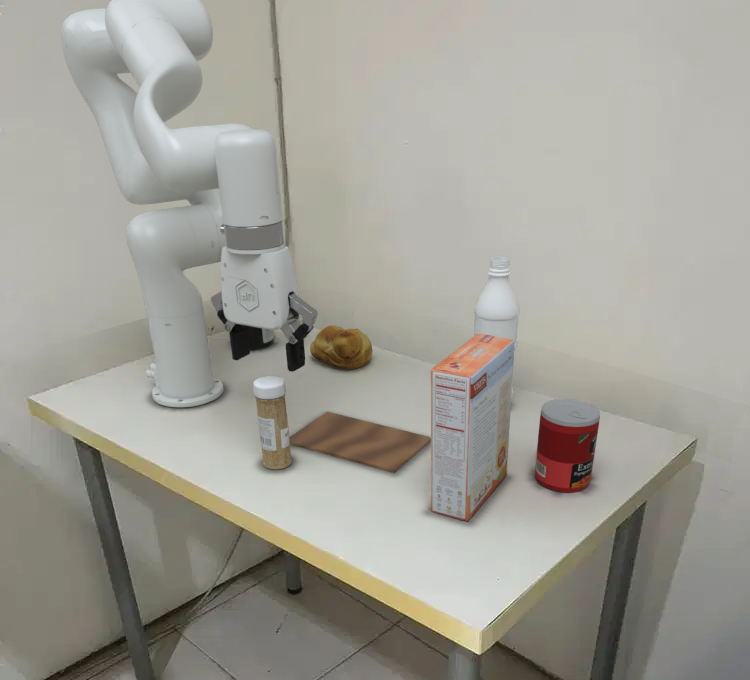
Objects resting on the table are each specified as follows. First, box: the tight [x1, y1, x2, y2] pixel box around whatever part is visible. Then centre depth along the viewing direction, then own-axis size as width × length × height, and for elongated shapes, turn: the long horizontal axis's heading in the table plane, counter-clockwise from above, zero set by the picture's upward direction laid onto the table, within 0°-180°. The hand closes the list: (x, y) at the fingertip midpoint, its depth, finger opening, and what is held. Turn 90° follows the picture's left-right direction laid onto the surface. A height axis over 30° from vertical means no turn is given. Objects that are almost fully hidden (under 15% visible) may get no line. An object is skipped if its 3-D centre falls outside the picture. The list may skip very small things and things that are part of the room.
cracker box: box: [430, 334, 515, 522], centre depth 102 cm, size 14×6×21 cm, turn 150°
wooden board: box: [289, 411, 431, 474], centre depth 122 cm, size 20×12×1 cm, turn 59°
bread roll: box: [309, 325, 373, 370], centre depth 149 cm, size 13×10×8 cm
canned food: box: [534, 398, 601, 493], centre depth 108 cm, size 8×8×11 cm
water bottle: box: [473, 255, 520, 401], centre depth 126 cm, size 7×7×25 cm
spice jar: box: [252, 375, 293, 471], centre depth 113 cm, size 5×5×13 cm
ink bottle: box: [243, 325, 275, 351], centre depth 158 cm, size 10×9×12 cm
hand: (268, 362), depth 108 cm, fingers open, 9 cm apart
